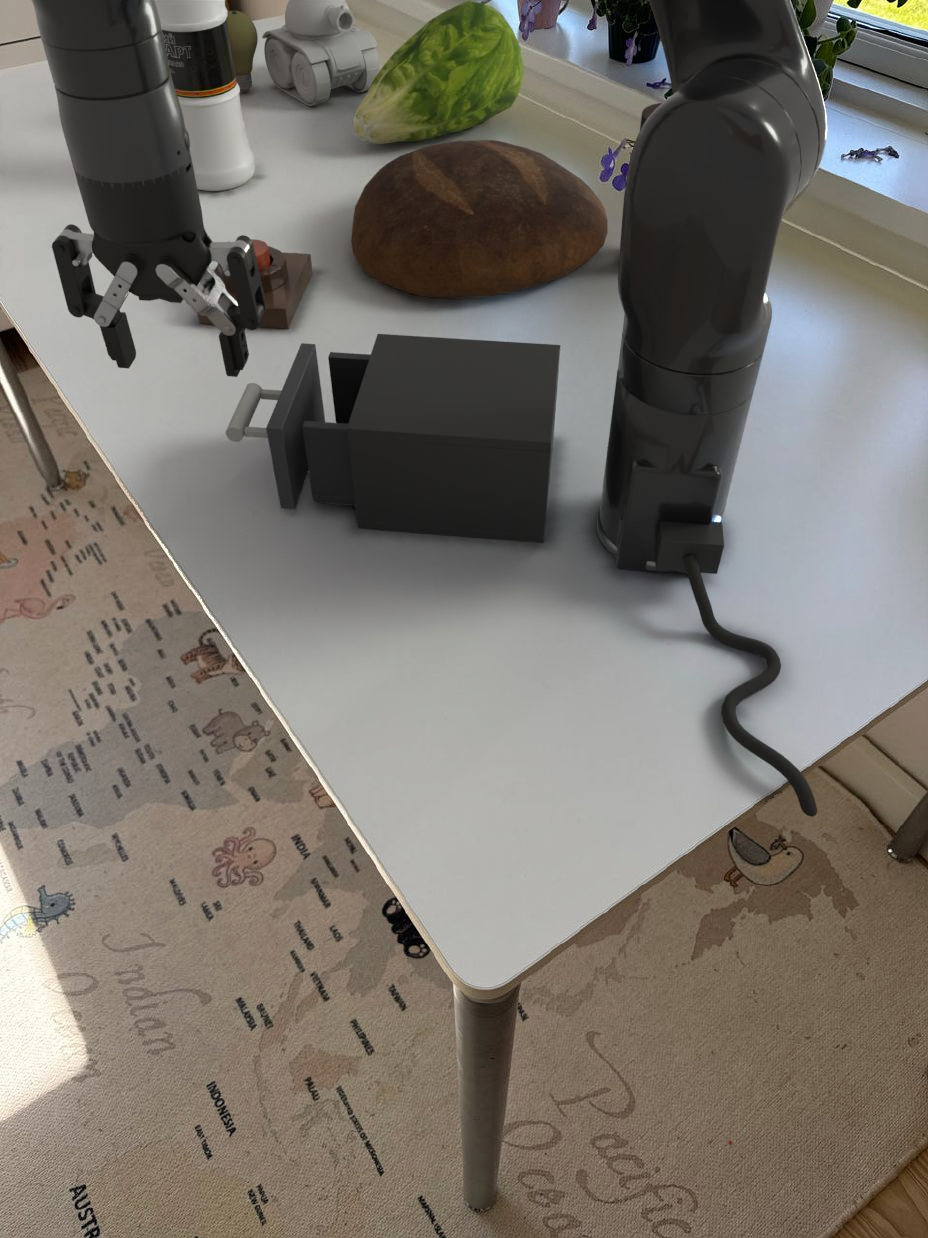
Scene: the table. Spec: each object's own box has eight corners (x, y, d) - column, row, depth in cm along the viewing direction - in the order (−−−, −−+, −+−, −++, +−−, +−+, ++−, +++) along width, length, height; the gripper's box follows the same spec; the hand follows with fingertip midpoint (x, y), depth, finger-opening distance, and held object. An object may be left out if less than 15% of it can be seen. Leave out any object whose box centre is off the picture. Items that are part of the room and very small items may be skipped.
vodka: (264, 186, 120) (218, -120, 98) (186, 199, 118) (121, -112, 96) (248, 156, 126) (201, -140, 104) (173, 167, 124) (109, -133, 101)
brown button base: (288, 329, 98) (282, 291, 95) (199, 323, 99) (191, 286, 96) (313, 273, 106) (308, 236, 103) (229, 268, 107) (223, 232, 104)
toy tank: (386, 96, 139) (380, -11, 129) (321, 115, 134) (310, 6, 125) (328, 65, 147) (318, -38, 137) (265, 82, 142) (250, -23, 133)
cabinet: (357, 528, 79) (346, 428, 72) (384, 431, 87) (377, 333, 80) (543, 543, 78) (551, 442, 70) (553, 443, 86) (560, 344, 79)
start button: (265, 274, 98) (262, 257, 97) (229, 272, 99) (226, 255, 97) (274, 256, 101) (272, 239, 100) (239, 254, 101) (236, 237, 100)
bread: (533, 169, 123) (537, 93, 116) (655, 270, 106) (667, 188, 99) (312, 216, 114) (303, 137, 108) (406, 334, 98) (402, 248, 91)
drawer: (227, 504, 79) (208, 423, 74) (263, 418, 87) (248, 339, 81) (450, 522, 78) (449, 440, 72) (467, 432, 86) (467, 352, 80)
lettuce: (345, 170, 133) (308, 66, 123) (481, 90, 139) (456, -15, 129) (403, 194, 124) (369, 83, 114) (546, 107, 129) (525, -5, 120)
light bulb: (273, 91, 140) (262, 11, 133) (239, 102, 137) (227, 20, 130) (249, 81, 143) (238, 1, 135) (216, 91, 140) (202, 10, 133)
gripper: (1, 171, 63) (74, 388, 75) (220, 184, 62) (259, 402, 74) (48, 123, 68) (110, 334, 80) (252, 134, 67) (284, 346, 79)
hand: (181, 366), depth 77 cm, fingers open, 8 cm apart
